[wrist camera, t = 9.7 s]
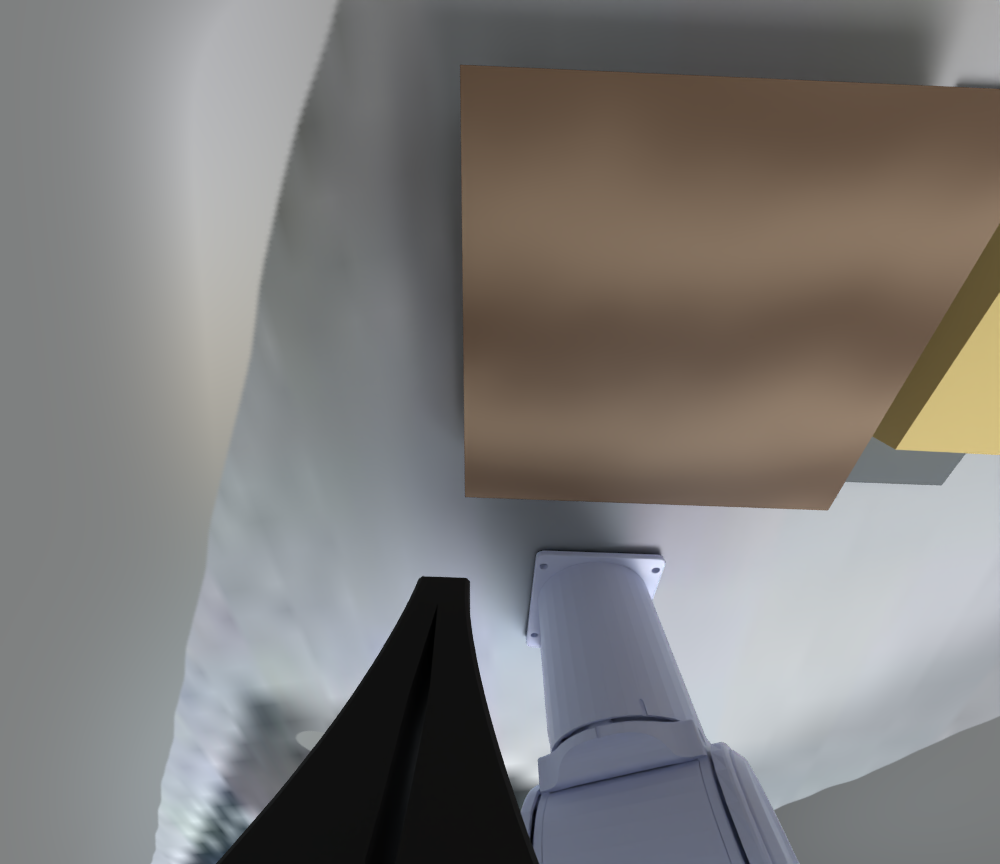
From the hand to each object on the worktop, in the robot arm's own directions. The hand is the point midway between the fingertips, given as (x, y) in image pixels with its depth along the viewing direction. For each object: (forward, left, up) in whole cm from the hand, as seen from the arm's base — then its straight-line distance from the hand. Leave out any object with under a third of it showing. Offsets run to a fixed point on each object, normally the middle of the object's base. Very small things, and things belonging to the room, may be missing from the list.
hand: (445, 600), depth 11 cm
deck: (+6, -8, -10) cm, 14 cm away
